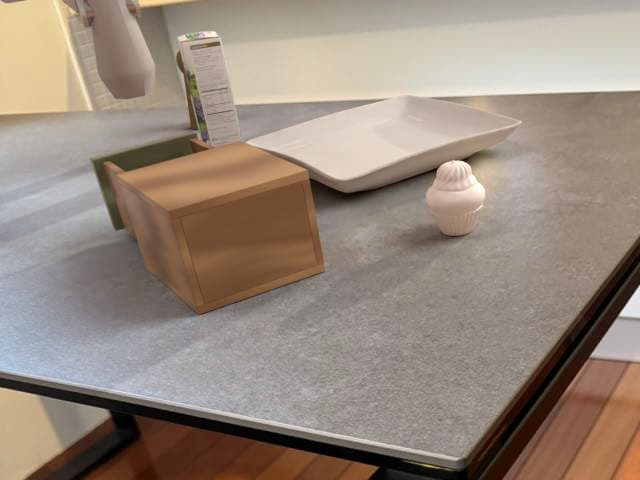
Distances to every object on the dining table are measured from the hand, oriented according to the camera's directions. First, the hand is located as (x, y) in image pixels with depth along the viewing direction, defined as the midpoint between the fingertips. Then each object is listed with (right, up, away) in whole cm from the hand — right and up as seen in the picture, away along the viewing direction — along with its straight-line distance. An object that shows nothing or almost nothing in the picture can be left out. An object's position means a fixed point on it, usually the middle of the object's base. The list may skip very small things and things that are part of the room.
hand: (112, 18), depth 80 cm
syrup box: (+2, +7, +41) cm, 41 cm away
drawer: (+3, -15, +14) cm, 20 cm away
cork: (-3, +17, +53) cm, 56 cm away
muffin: (+35, -19, +5) cm, 40 cm away
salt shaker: (0, -5, +5) cm, 7 cm away
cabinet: (+11, -24, +3) cm, 27 cm away
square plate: (+26, -1, +27) cm, 38 cm away
